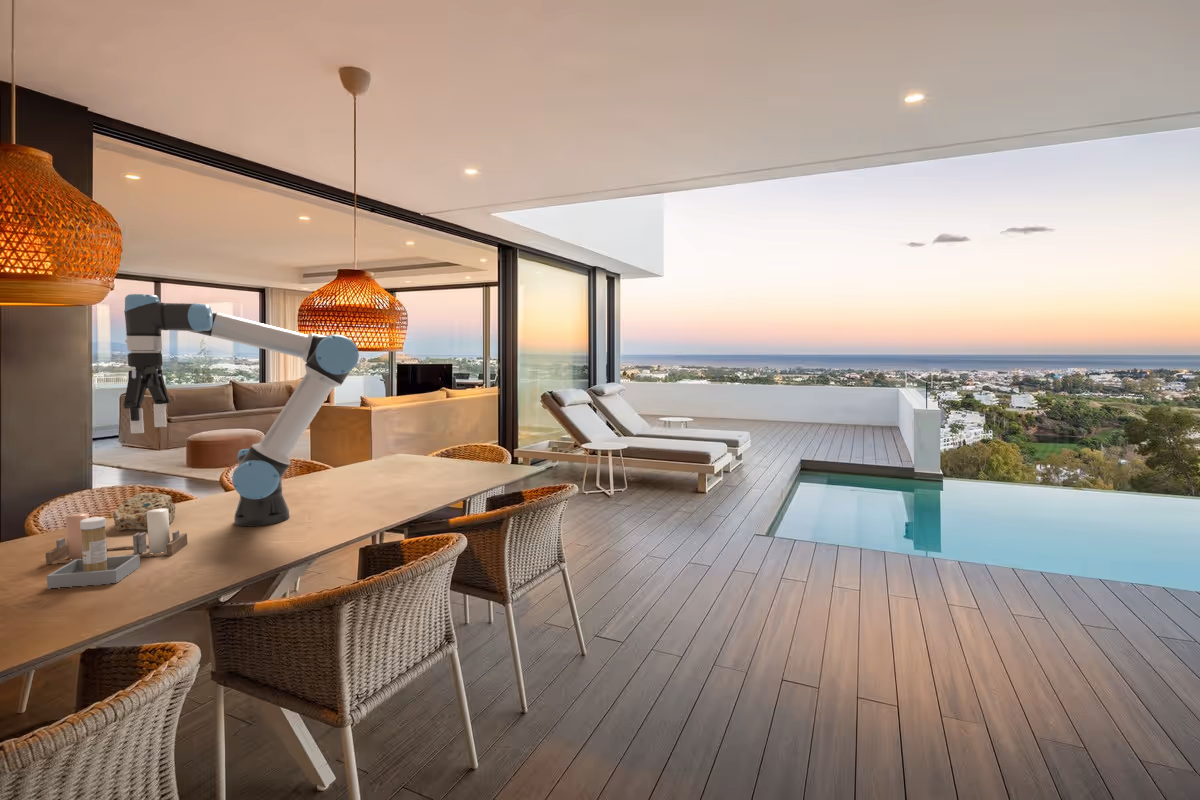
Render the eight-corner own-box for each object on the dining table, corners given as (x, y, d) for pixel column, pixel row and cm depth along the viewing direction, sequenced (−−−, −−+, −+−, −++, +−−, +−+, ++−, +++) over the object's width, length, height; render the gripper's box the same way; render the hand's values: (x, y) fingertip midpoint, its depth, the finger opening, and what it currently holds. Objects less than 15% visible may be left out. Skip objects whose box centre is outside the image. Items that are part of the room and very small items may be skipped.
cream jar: (173, 547, 163) (171, 507, 162) (166, 553, 159) (163, 512, 158) (153, 549, 162) (151, 509, 161) (145, 554, 158) (143, 513, 157)
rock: (175, 530, 182) (163, 501, 179) (118, 549, 176) (104, 518, 173) (182, 508, 200) (171, 481, 197) (129, 524, 193) (118, 496, 190)
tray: (140, 566, 149) (139, 554, 148) (116, 583, 138) (115, 570, 138) (76, 571, 145) (75, 559, 145) (47, 589, 135) (46, 575, 134)
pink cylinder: (95, 553, 159) (92, 512, 158) (86, 558, 154) (83, 516, 154) (73, 554, 157) (71, 513, 157) (64, 560, 153) (61, 517, 152)
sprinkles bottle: (81, 575, 141) (78, 519, 140) (106, 570, 145) (103, 515, 144) (85, 580, 138) (81, 522, 137) (110, 574, 142) (107, 518, 141)
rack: (187, 543, 166) (186, 526, 166) (172, 555, 157) (171, 536, 157) (69, 552, 159) (68, 533, 159) (46, 564, 150) (44, 545, 150)
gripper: (150, 352, 174) (154, 424, 176) (103, 352, 150) (109, 436, 152) (179, 352, 176) (183, 424, 178) (138, 352, 152) (143, 435, 154)
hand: (149, 430), depth 165 cm, fingers open, 13 cm apart
